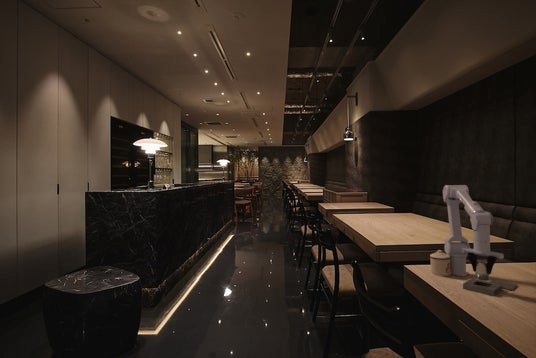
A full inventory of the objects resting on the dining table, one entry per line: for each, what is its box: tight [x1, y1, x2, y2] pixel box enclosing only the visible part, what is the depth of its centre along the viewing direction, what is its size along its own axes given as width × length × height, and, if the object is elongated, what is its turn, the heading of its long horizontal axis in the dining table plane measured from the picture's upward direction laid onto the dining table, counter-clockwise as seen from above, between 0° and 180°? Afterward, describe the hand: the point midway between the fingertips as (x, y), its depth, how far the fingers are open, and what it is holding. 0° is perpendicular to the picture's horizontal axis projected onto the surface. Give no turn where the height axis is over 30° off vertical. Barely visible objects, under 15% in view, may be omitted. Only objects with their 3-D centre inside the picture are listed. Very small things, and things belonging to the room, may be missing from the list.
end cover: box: [475, 260, 490, 281], centre depth 128 cm, size 5×5×7 cm
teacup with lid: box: [429, 249, 452, 277], centre depth 151 cm, size 12×9×12 cm
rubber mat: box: [489, 279, 518, 292], centre depth 132 cm, size 9×9×1 cm
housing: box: [462, 277, 503, 297], centre depth 128 cm, size 11×11×2 cm
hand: (482, 272), depth 128 cm, fingers closed on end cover, 5 cm apart
